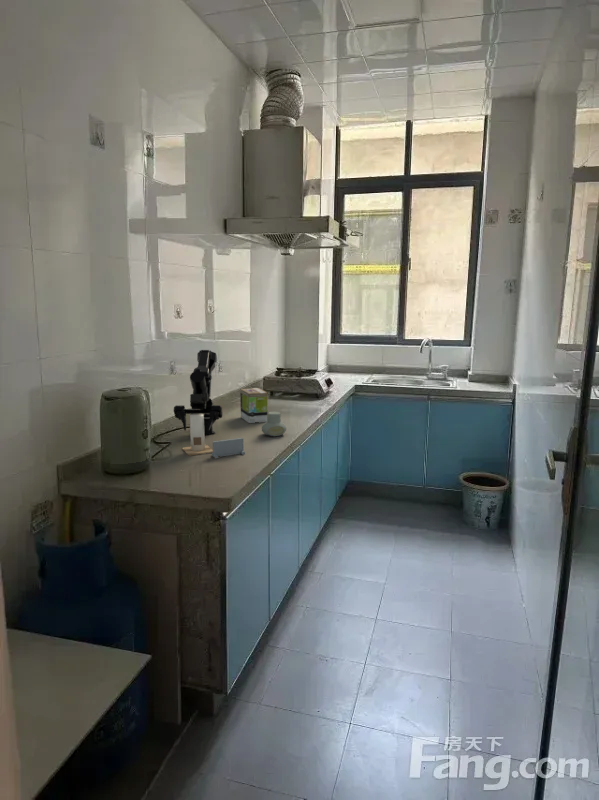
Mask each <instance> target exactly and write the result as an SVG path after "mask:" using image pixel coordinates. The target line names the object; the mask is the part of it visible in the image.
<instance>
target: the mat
mask: <svg viewBox="0 0 599 800" xmlns="http://www.w3.org/2000/svg"><path fill="white" fill-rule="evenodd" d="M182 451H184V452H185V453H186V455H187V456H189V457H191V456H198V455H206V453H207V454H212V453H213V448H211V447H210V446H209V445H208V444H205V450H202V451H192V450H191V446H185V447H182Z"/></svg>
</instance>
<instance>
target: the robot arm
mask: <svg viewBox="0 0 599 800" xmlns="http://www.w3.org/2000/svg"><path fill="white" fill-rule="evenodd" d="M217 356H218V355H217V353H216V352H214V351H211V350H210V349H200V350H199V352H197V357H196V358H197V360H196V361H197V363H198V364H197V367H195V368H193V372H191V373H190V375H189V381H190V383H191V388H192V393H191V394H190V395H189V396H190V397H189V401H190V402H189V403H190V404H189V405H190V408H186V407H185V405H182V404H181V405H180V404H179V405H175V406H174V407H173V413H174V417H175V419H177V420H179V421H181V422H182V426H183V430H184V431H187V418H186V416H187V415H190V414H193V413H202V414H204V433H205V435H215V434H216V432H215V431H214V430H213V429H214V428H213V425H214V424H215V422H216V421H218V420H219V419H221V418H223V407H222V406H221V405H220V404H214V403H213V400H212V398H211V390H212V380H213V376H212V372H213V370H214V369H216V363H218V362H217V361H218V357H217Z"/></svg>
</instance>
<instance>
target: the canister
mask: <svg viewBox="0 0 599 800" xmlns="http://www.w3.org/2000/svg"><path fill="white" fill-rule="evenodd" d="M189 431H190V432H189V433H190V434H189V435H190V437H189V438H190V447H191V450H192V451H202V450H205V445H206V438H205V433H204V414H202V413H193V414H189Z"/></svg>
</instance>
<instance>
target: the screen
mask: <svg viewBox="0 0 599 800" xmlns="http://www.w3.org/2000/svg"><path fill="white" fill-rule="evenodd" d="M212 450H213V453H211V456H212V457H213V458H214V457H215V458H214V459H218V458H219V457H218V456H220V457H225V456H226V457H229V456H233V455H234V454H235V455H246V451H245V449H244V438H243V437H238V438H230V439H221V440H214V441H213V440H212Z"/></svg>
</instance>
